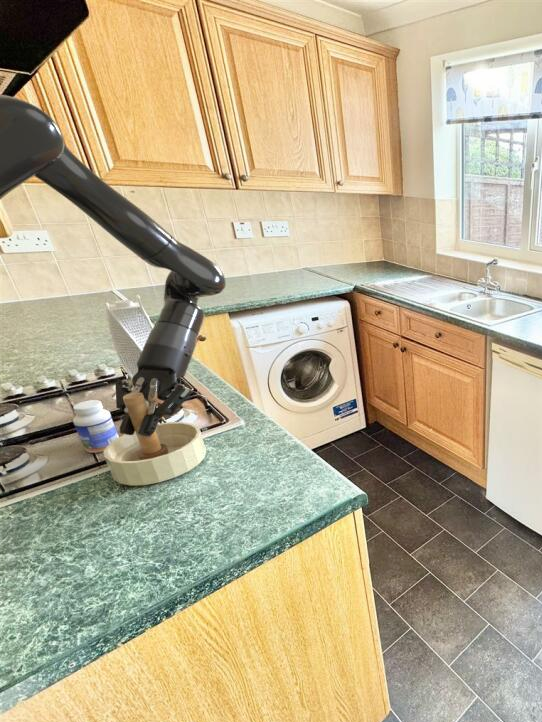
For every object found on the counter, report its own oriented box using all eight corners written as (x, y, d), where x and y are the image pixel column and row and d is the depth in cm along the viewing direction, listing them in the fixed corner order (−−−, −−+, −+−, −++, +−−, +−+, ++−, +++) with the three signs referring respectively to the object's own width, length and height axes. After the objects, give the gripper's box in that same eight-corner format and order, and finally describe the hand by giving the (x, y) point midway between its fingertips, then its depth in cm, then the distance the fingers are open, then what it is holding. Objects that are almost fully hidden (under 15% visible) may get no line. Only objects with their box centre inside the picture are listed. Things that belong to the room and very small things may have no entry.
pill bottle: (82, 447, 85) (63, 405, 81) (116, 436, 89) (99, 395, 85) (90, 456, 82) (71, 413, 78) (125, 445, 87) (108, 403, 82)
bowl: (93, 489, 74) (82, 464, 72) (146, 445, 87) (138, 422, 85) (181, 486, 76) (172, 461, 74) (220, 443, 89) (214, 421, 87)
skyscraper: (188, 404, 103) (154, 291, 91) (165, 419, 96) (125, 299, 84) (156, 402, 103) (118, 289, 91) (130, 417, 96) (85, 297, 84)
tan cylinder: (133, 461, 79) (110, 401, 74) (149, 448, 83) (127, 390, 78) (159, 461, 80) (138, 401, 74) (173, 448, 84) (154, 390, 78)
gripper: (118, 339, 80) (78, 426, 74) (190, 344, 79) (156, 433, 73) (150, 355, 87) (116, 436, 81) (216, 360, 86) (187, 442, 80)
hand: (135, 434), depth 77 cm, fingers closed on tan cylinder, 3 cm apart
